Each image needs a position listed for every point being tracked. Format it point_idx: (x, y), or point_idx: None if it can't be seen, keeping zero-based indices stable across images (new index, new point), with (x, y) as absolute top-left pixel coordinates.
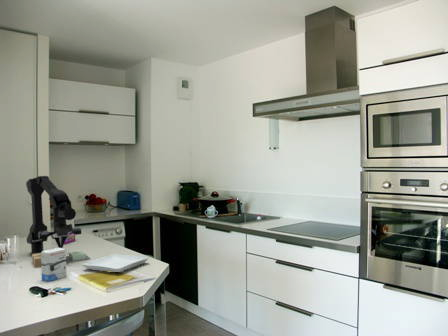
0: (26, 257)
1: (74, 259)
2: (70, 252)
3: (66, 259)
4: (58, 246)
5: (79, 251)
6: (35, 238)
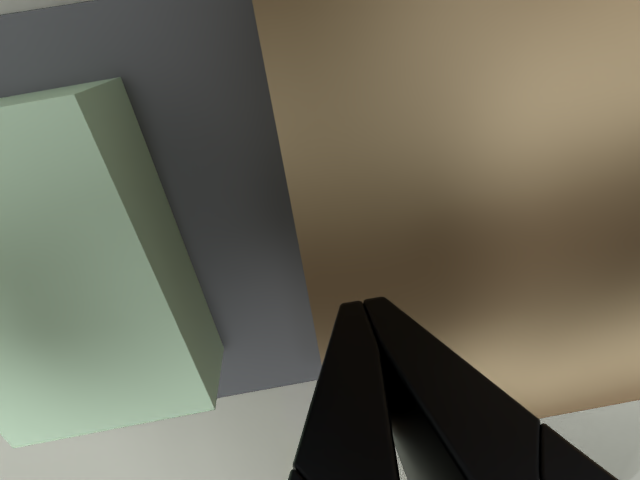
0: None
1: (79, 85)
2: (175, 369)
3: (247, 217)
4: (466, 382)
5: (9, 379)
6: None
